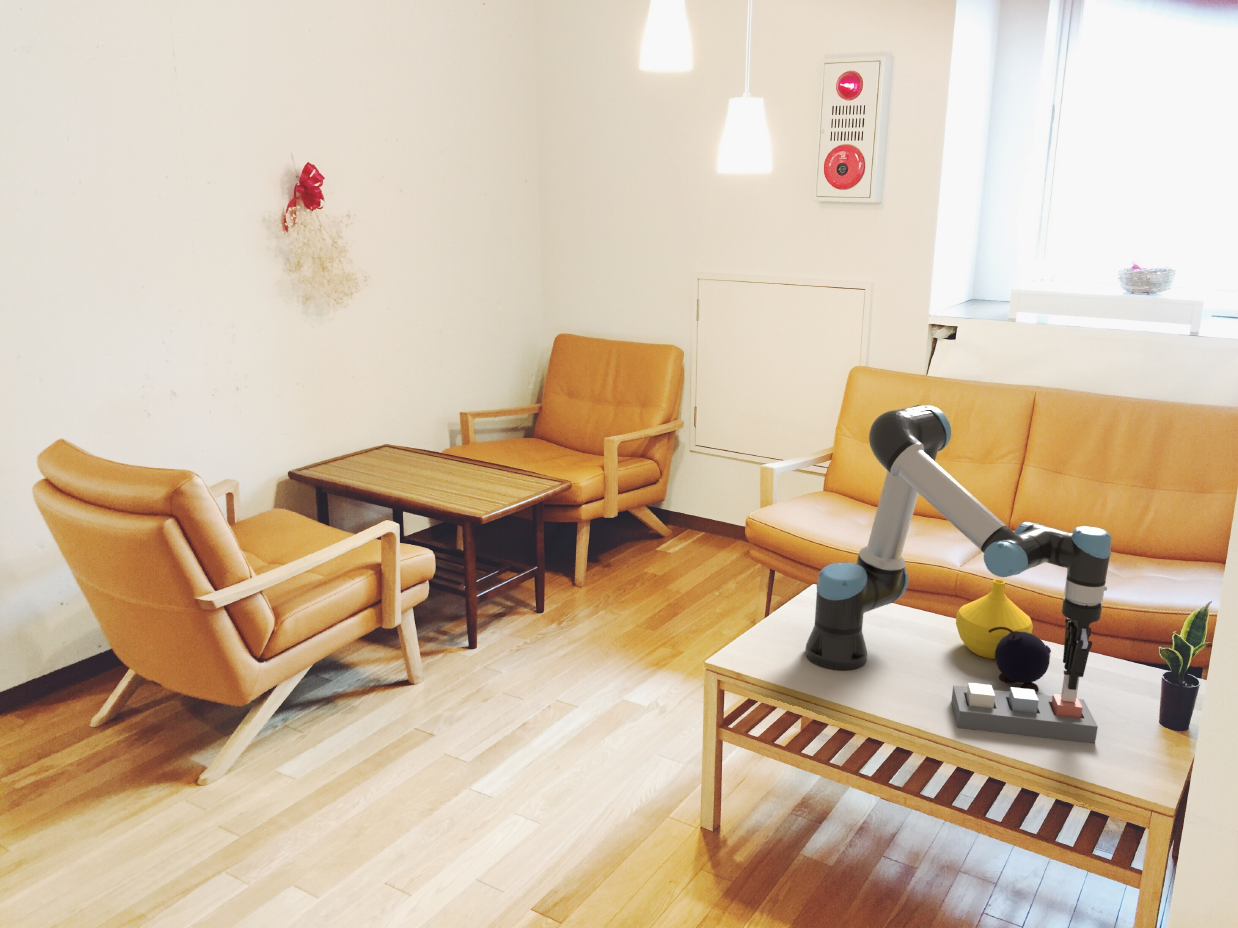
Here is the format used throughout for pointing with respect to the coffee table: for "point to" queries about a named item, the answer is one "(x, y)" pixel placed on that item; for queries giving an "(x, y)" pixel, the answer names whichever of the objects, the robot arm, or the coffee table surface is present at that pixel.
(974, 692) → the key ivory
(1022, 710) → the key slate
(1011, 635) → the toy
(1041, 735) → the console
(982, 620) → the vase
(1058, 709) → the key brick
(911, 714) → the coffee table surface
